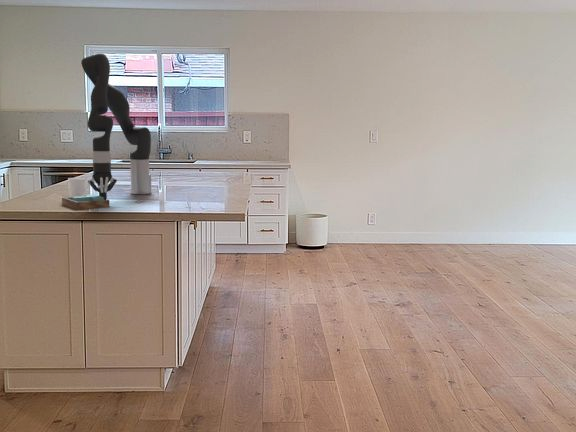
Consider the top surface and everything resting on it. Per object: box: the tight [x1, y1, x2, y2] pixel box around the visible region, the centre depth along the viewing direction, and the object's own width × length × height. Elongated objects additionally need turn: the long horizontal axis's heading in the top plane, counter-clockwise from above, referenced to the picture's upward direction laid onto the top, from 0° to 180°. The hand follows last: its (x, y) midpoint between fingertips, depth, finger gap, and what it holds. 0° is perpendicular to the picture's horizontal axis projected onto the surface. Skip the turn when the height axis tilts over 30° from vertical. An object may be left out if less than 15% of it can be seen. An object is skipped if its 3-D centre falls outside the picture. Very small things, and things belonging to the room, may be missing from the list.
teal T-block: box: [72, 193, 104, 202], centre depth 266 cm, size 11×12×4 cm
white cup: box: [67, 177, 87, 197], centre depth 282 cm, size 8×8×10 cm
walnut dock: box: [61, 196, 111, 210], centre depth 266 cm, size 14×17×3 cm
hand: (103, 200), depth 270 cm, fingers closed
